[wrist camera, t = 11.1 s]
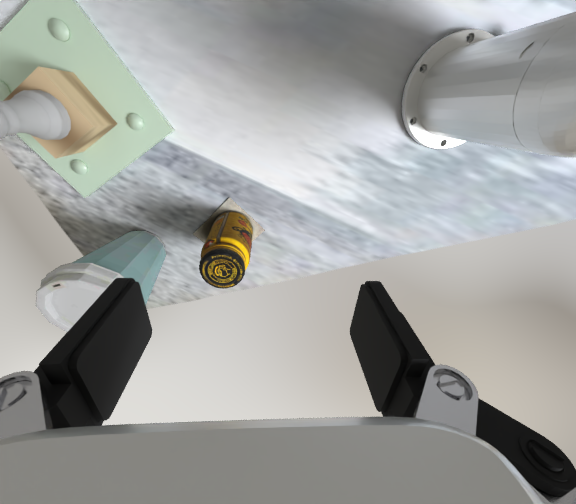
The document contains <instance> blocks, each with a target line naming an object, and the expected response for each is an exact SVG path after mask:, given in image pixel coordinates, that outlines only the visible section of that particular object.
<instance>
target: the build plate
mask: <svg viewBox="0 0 576 504" xmlns="http://www.w3.org/2000/svg"><path fill="white" fill-rule="evenodd" d="M38 66H39V67H45V68H50V69H56V70H62V71H68V72H73V73H74V74H75V75H76V76H77V77H78V78H79V79H80V81H81V82H82V83H83V84H84V85H85V86H86V88H87V89H88V90H89V91H90V92H91V93H92V95H93V96H94V97H95V98H96V99H97V100H98V102H99V103H100V104H101V105H102V106H103V107H104V108H105V110H106V111H107V112H108V113H109V114H110V115H111V117H112V118H113V119H114V120H115V121H116V122H117V125H116V126H115V127H113V128H112V129H111V130H110V131H108V132H107V133H106V134H105V135H104V136H102V137H101V138H100V139H99V140H98V141H96V142H95V143H94V144H93V145H91V146H90V147H89V148H88V149H87V150H85V151H84V152H80V153H76V154H72V155H68V156H64V157H60V158H56V159H55V158H54V157H53V156H52V155H51V154H50V153H49V152H48V151H47V150H46V149H45V148H44V147H43V146H42V145H41V144H40V143H39V142H38V141H37V140H36V139H34V138H33V137H32V136H31V135H30V134H27V133H17V135H18V136H19V137H20V138H21V139H22V140H23V141H24V142H25V143H26V144H27V145H28V146H29V147H30V148H32V149H33V150H34V151H35V152H36V153H37V154H38V155H39V156H40V157H41V158H42V159H43V160H44V161H45V162H46V163H48V164H49V165H50V166H51V167H52V168H53V169H54V170H55V171H56V172H57V173H58V174H59V175H60V176H61V177H63V178H64V179H65V180H66V181H67V182H68V183H69V184H70V185H71V186H72V187H73V188H74V189H75V190H76V191H78V192H79V193H80V194H81V195H82V196H83V197H84V198H86V197H88V196H90V195H91V194H92V193H93V192H95V191H96V190H97V189H99V188H100V187H101V186H103V185H104V184H105V183H107V182H108V181H109V180H110V179H112V178H113V177H114V176H116V175H117V174H118V173H120V172H121V171H122V170H124V169H125V168H126V167H127V166H129V165H130V164H131V163H133V162H134V161H135V160H137V159H138V158H139V157H141V156H142V155H143V154H144V153H146V152H147V151H148V150H150V149H151V148H152V147H154V146H155V145H156V144H158V143H159V142H160V141H161V140H163V139H164V138H165V137H167V136H168V135H169V134H171V133H172V132H173V131H175V130H174V129H173V127H172V126H171V125H170V124H169V122H168V121H167V120H166V118H165V117H164V116H163V114H162V113H161V112H160V110H159V109H158V108H157V107H156V105H155V104H154V103H153V101H152V100H151V99H150V97H149V96H148V95H147V94H146V92H145V91H144V90H143V88H142V87H141V86H140V84H139V83H138V82H137V80H136V79H135V78H134V77H133V75H132V74H131V73H130V71H129V70H128V69H127V67H126V66H125V65H124V63H123V62H122V61H121V60H120V58H119V57H118V56H117V54H116V53H115V52H114V50H113V49H112V48H111V47H110V45H109V44H108V43H107V41H106V40H105V39H104V37H103V36H102V35H101V33H100V32H99V31H98V30H97V28H96V27H95V26H94V24H93V23H92V22H91V20H90V19H89V18H88V16H87V15H86V14H85V13H84V11H83V10H82V9H81V7H80V6H79V5H78V3H77V2H76V1H75V0H29V1H28V2H27V3H26V4H25V6H24V7H23V8H22V9H21V10H20V11H19V12H18V13H17V14H16V15H15V16H14V17H13V18H12V19H11V21H10V22H9V23H8V24H7V25H6V26H5V27H4V28H3V29H2V30H1V31H0V101H3V100H4V99H5V98H6V97H8V96H9V95H10V94H11V93H12V92H13V91H14V90H15V89H16V88H17V87H18V86H19V85H20V84H21V83H22V82H23V81H24V80H25V79H26V78H27V77H28V76H29V75H30V74H31V73H32V72H33V71H34V70H35V69H36V68H37V67H38Z"/></svg>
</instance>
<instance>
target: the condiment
mask: <svg viewBox="0 0 576 504" xmlns="http://www.w3.org/2000/svg"><path fill="white" fill-rule="evenodd" d="M263 231H265V230H264V229H263V228H262V227H261V226H260V225H259V224H258V223H257V222H256V221H255V220H254V219H253V218H251V217H250V216H249V215H248V214H247V213H246V212H245V211H244V210H243V209H242V208H241V207H239V206H238V205H237V204H236V203H235V202H234V201H233V200H232V199H231V198H229V199H228V200H227V201H225V202H224V203H223V204H222V205H221V206H220V208H218V209H217V210H216V211H215V212H214V213H213V214H212V215H211V216H210V217H209V218H208V219H207V221H205V222H204V223H203V224H202V225H201V226H200V227H199V228H198V229H197V230H196V231H195V232H194V233H193V235H194V236H196V237H197V238H199V239H200V240H201V241H203V242H204V243H205V244H204V246H203V248H202V251H201V261H200V265H199V267H200V268H199V270H200V273H201V275H202V278H203V279H204V280H205V281H206V282H207V283H208V284H210V285H212V286H214V287H216V288H229V287H233V286H235V285H237V284H238V283H239V282H240V281H241V280H242V278H243V276H244V275H245V270H246V268H247V266H248V264H249V260H250V252H251V245H252V241H253V240H254V239H255V238H257V237H258V236H259V235H260V234H261V233H262V232H263Z"/></svg>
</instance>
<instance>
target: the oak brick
mask: <svg viewBox="0 0 576 504" xmlns="http://www.w3.org/2000/svg"><path fill="white" fill-rule="evenodd" d="M23 90H41V91H44V92H47V93H49V94H51V95H52V96H54V97H55V98H56V99H58V100H59V101H60V102H61V103H62V105H63V106H64V107H65V109H66V110H67V112H68V115H69V117H70V120H71V130H70V131H69V133H68V135H67V136H66V137H64V138H62V139H59V140H44V139H40V138H37V137H34V136H32V135H31V136H32V137H33V138H34V139H36V140H37V141H38V142H39V143H40V144H41V145H42V146H43V147H44V148H45V149H46V150H47V151H48V152H49V153H50V154H51V155H52V156H53V157H54V158H55V159H56V158H60V157H64V156H68V155H72V154H76V153H80V152H84V151H85V150H87V149H88V148H89V147H90V146H91V145H93V144H94V143H95V142H96V141H98V140H99V139H100V138H101V137H102V136H104V135H105V134H106V133H107V132H108V131H110V130H111V129H112V128H113V127H115V126H116V125H117V122H116V121H115V120H114V119H113V118H112V117H111V115H110V114H109V113H108V112H107V111H106V110H105V108H104V107H103V106H102V105H101V104H100V103H99V102H98V100H97V99H96V98H95V97H94V96H93V95H92V93H91V92H90V91H89V90H88V89H87V88H86V86H85V85H84V84H83V83H82V82H81V81H80V79H79V78H78V77H77V76H76V75H75V74H74V73H73V72H68V71H62V70H56V69H50V68H45V67H39V66H38V67H37V68H36V69H35V70H34V71H33V72H32V73H31V74H30V75H29V76H28V77H27V78H26V79H25V80H24V81H23V82H22V83H21V84H20V85H19V86H18V87H17V88H16V89H15V90H14V91H13V92H12V93H11V94H10V95H9V96H8V97H6V98H5V99H4V100H3V101H6V100H10V99H11V98H13V97H14V95H16V94H17V93H19V92H21V91H23Z"/></svg>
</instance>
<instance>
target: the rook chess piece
mask: <svg viewBox="0 0 576 504" xmlns="http://www.w3.org/2000/svg"><path fill="white" fill-rule="evenodd" d="M70 130H71V120H70V117H69V115H68V112H67V110H66V109H65V107H64V106H63V105H62V103H61V102H60V101H59V100H58V99H56V98H55V97H54V96H52V95H51V94H49V93H47V92H44V91H41V90H23V91H21V92H19V93H17V94H16V95H14V97H13V98H11V99H10V100H6V101H0V140H1V139H3V138H4V137H5V136H14V135H15V134H17V133H27V134H30V135H32V136H34V137H37V138H40V139H44V140H59V139H62V138H64V137H66V136H67V135H68V133H69V131H70Z"/></svg>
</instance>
